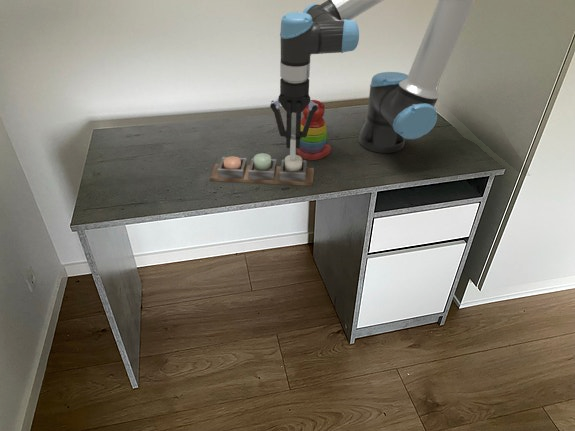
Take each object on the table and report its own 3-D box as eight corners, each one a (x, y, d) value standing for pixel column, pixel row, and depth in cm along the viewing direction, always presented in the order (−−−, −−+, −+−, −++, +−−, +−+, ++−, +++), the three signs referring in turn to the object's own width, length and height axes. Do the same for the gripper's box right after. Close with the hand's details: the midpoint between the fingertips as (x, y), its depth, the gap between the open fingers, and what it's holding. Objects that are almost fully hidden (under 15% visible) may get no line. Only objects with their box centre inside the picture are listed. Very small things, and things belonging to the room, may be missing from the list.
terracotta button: (242, 165, 141) (241, 156, 139) (239, 174, 137) (239, 165, 135) (225, 164, 141) (225, 155, 139) (222, 173, 137) (222, 164, 135)
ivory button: (302, 163, 139) (302, 155, 137) (301, 172, 135) (301, 163, 133) (285, 163, 139) (285, 154, 137) (284, 172, 135) (284, 163, 134)
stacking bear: (333, 149, 153) (336, 97, 142) (321, 163, 145) (324, 110, 134) (302, 142, 156) (304, 91, 145) (289, 156, 149) (290, 103, 138)
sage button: (272, 162, 140) (271, 153, 138) (270, 171, 136) (270, 162, 134) (255, 161, 140) (255, 152, 138) (253, 170, 136) (252, 161, 134)
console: (313, 170, 142) (314, 160, 140) (312, 185, 136) (313, 175, 133) (215, 166, 144) (214, 156, 141) (210, 180, 137) (209, 170, 135)
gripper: (320, 73, 123) (315, 152, 138) (271, 71, 124) (271, 150, 138) (319, 84, 117) (315, 165, 132) (268, 82, 118) (268, 163, 132)
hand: (292, 157), depth 135 cm, fingers closed
